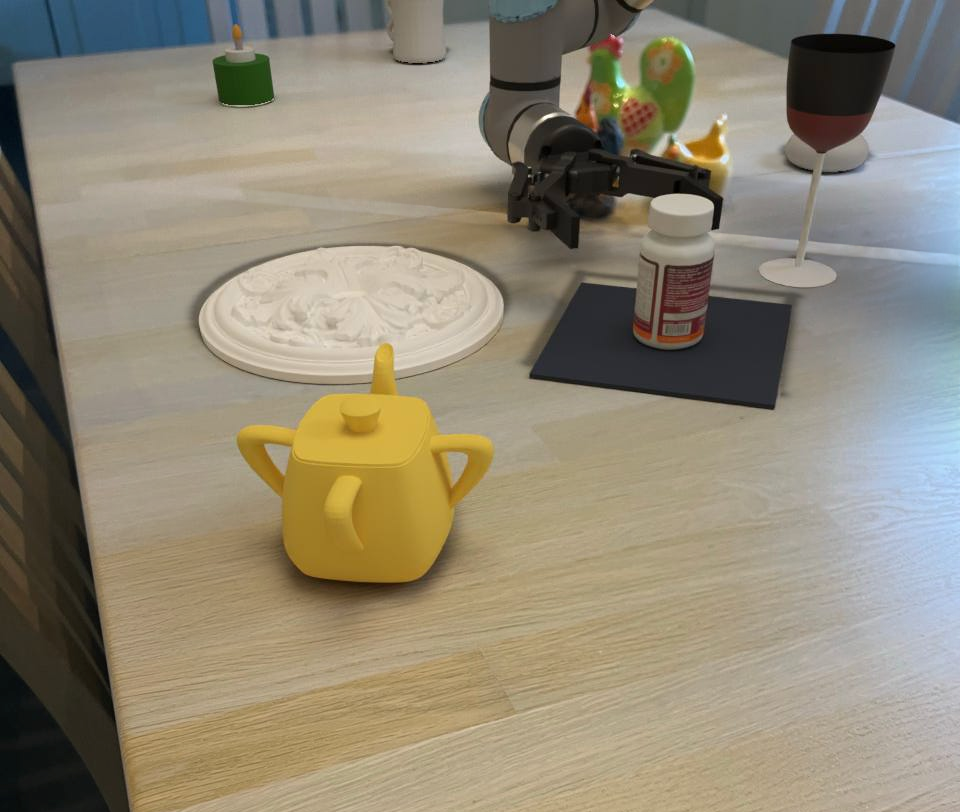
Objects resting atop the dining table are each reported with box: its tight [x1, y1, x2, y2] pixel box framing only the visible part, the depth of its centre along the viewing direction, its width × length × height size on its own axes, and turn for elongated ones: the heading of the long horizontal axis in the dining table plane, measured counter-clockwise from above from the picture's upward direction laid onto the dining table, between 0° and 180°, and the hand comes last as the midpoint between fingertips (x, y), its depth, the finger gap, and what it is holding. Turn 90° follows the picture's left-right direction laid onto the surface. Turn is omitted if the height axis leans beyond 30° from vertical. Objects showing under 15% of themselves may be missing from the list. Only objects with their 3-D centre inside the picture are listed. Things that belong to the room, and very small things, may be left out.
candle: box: [212, 23, 275, 105], centre depth 150 cm, size 8×8×10 cm
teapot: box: [236, 343, 495, 583], centre depth 64 cm, size 14×13×10 cm
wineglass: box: [758, 33, 896, 288], centre depth 94 cm, size 8×9×20 cm
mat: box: [528, 281, 793, 410], centre depth 89 cm, size 20×20×1 cm
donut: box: [785, 133, 870, 173], centre depth 126 cm, size 10×4×10 cm
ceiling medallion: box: [198, 245, 505, 385], centre depth 93 cm, size 28×28×3 cm
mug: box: [385, 0, 447, 64], centre depth 170 cm, size 12×9×10 cm
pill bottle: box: [633, 194, 716, 350], centre depth 85 cm, size 6×6×11 cm
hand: (647, 223), depth 88 cm, fingers open, 13 cm apart
